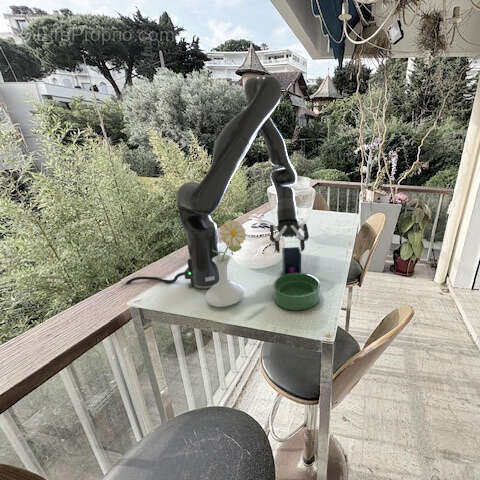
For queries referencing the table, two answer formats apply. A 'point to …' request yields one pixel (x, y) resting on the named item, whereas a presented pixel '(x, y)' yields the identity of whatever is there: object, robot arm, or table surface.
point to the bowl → (296, 291)
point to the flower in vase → (226, 289)
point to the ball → (291, 270)
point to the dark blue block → (291, 259)
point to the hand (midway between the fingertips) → (290, 251)
